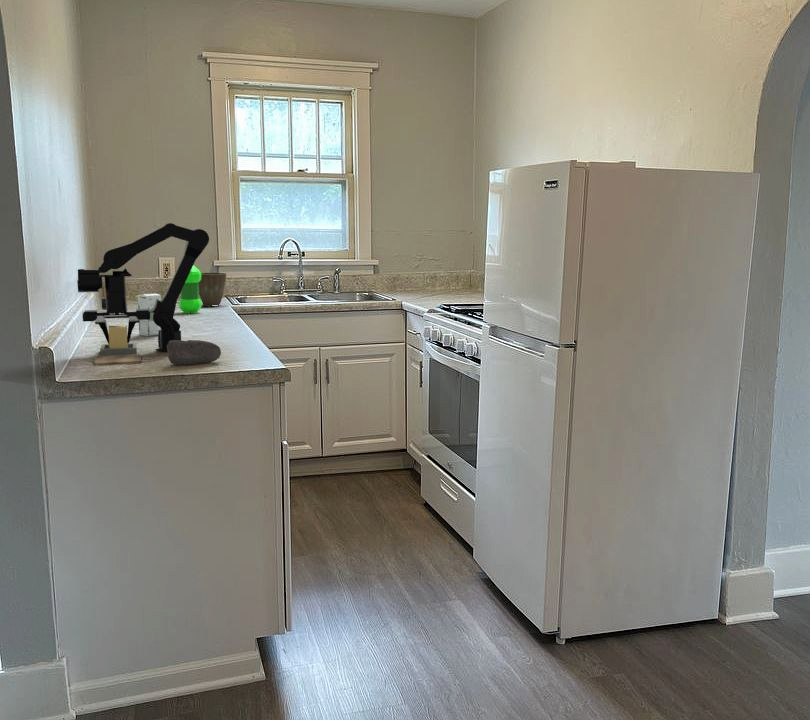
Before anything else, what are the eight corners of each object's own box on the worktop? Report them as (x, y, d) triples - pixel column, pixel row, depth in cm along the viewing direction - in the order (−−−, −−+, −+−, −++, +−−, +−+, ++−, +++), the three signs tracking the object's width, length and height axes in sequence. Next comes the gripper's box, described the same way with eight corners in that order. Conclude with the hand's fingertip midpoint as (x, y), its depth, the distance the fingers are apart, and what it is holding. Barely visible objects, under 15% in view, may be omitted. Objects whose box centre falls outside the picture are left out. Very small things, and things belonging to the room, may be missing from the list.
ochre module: (128, 351, 226) (126, 325, 224) (127, 353, 221) (126, 327, 220) (110, 351, 224) (108, 325, 223) (110, 354, 220) (108, 327, 218)
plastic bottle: (198, 311, 338) (196, 256, 333) (205, 313, 329) (203, 257, 324) (176, 312, 332) (173, 256, 328) (182, 314, 324) (180, 257, 319)
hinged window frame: (136, 344, 239) (136, 338, 238) (136, 354, 220) (136, 348, 219) (103, 345, 235) (102, 339, 235) (100, 356, 216) (100, 349, 216)
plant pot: (197, 304, 366) (196, 272, 364) (228, 304, 369) (227, 272, 366) (194, 307, 352) (193, 274, 349) (226, 307, 355) (225, 274, 352)
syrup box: (153, 333, 265) (151, 293, 262) (162, 335, 261) (161, 294, 258) (139, 335, 260) (136, 294, 258) (148, 336, 257) (146, 295, 254)
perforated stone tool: (219, 360, 212) (219, 336, 210) (223, 363, 207) (222, 339, 206) (165, 364, 206) (164, 339, 204) (167, 367, 201) (166, 342, 200)
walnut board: (140, 356, 217) (140, 354, 217) (140, 363, 206) (140, 360, 206) (96, 358, 213) (96, 356, 213) (94, 365, 202) (94, 363, 202)
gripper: (148, 289, 230) (150, 338, 233) (83, 290, 224) (86, 341, 227) (149, 292, 220) (151, 343, 222) (80, 293, 214) (84, 346, 216)
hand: (118, 343), depth 222 cm, fingers closed on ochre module, 5 cm apart
